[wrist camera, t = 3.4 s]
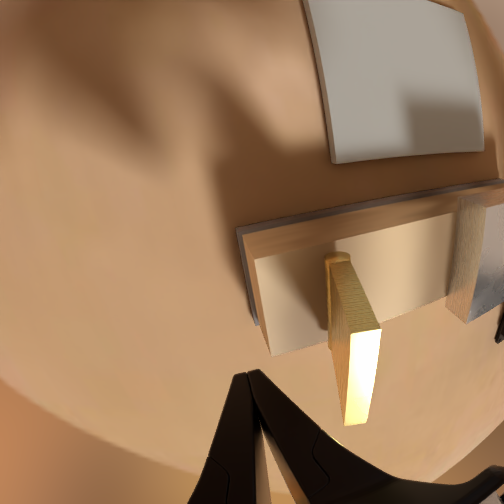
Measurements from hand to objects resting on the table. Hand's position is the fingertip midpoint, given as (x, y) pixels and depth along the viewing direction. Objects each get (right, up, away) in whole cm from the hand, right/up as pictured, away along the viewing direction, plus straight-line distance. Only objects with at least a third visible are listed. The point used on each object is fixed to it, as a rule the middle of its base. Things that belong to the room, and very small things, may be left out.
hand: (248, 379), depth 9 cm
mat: (+9, +14, +4) cm, 17 cm away
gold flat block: (+4, +2, +3) cm, 5 cm away
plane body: (+10, +5, +7) cm, 13 cm away
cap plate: (+14, +5, +5) cm, 16 cm away
